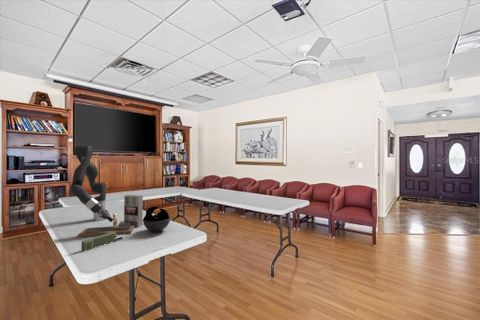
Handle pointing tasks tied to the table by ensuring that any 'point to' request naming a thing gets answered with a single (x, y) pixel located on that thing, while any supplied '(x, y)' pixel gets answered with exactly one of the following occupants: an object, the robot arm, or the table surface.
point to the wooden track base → (103, 231)
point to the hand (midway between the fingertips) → (112, 220)
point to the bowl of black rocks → (156, 219)
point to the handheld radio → (99, 241)
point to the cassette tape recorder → (133, 209)
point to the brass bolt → (115, 221)
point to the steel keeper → (124, 225)
